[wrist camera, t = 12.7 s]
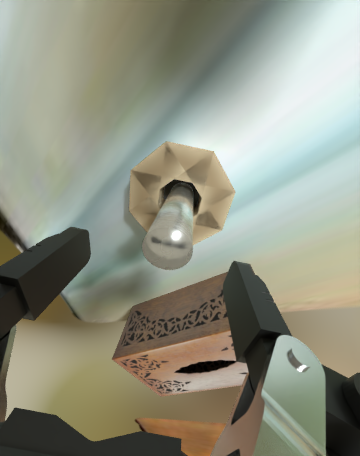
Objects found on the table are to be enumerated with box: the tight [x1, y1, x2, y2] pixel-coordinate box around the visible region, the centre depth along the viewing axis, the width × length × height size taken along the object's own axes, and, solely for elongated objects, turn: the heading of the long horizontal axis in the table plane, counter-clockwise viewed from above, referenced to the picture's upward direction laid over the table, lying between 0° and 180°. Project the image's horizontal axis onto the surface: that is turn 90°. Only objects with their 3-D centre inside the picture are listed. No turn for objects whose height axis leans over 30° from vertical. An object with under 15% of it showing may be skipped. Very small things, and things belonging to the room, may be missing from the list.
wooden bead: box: [129, 141, 235, 245], centre depth 21 cm, size 12×12×4 cm
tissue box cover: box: [112, 264, 255, 396], centre depth 29 cm, size 26×14×10 cm, turn 120°
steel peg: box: [142, 183, 193, 270], centre depth 16 cm, size 3×3×14 cm
